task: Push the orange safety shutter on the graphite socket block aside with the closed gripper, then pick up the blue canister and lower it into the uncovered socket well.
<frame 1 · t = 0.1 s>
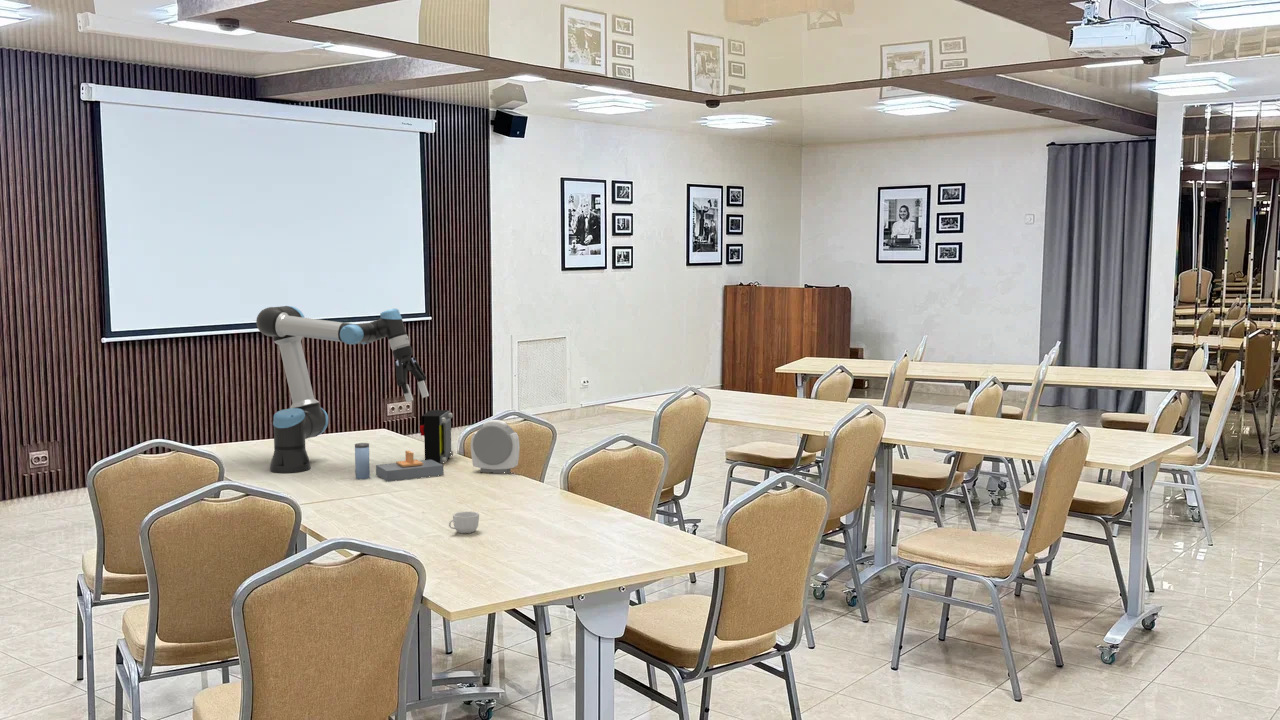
hand: (418, 399, 411), 28 cm above the table, tool tilted 20°, fingers open, 13 cm apart
alarm clock: (495, 472, 407), on the table
teacup: (463, 533, 315), on the table
socket block: (409, 475, 400), on the table
shutter: (409, 458, 400), point 7 cm above the table, slide at 0.0 cm
electrical component: (437, 461, 430), on the table
blue canister: (362, 478, 395), on the table
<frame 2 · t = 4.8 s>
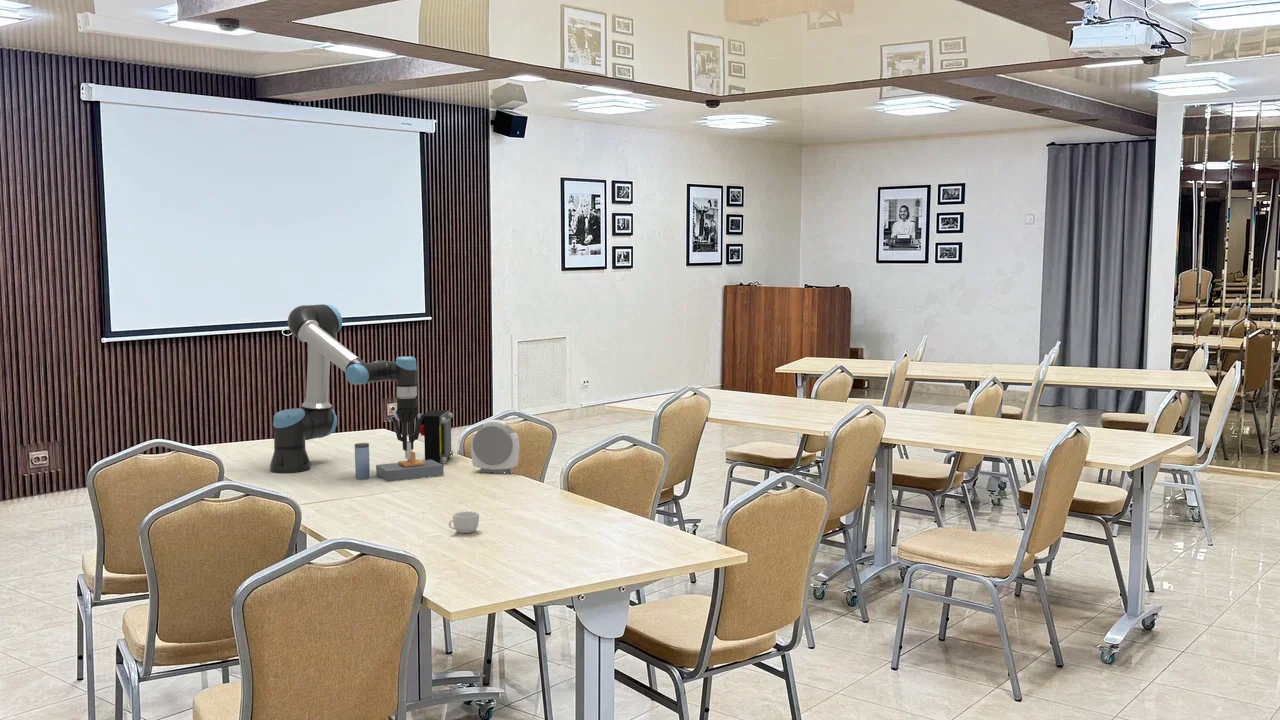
hand: (408, 458, 399), 7 cm above the table, tool pointing down, fingers closed
shutter: (411, 457, 400), point 7 cm above the table, slide at 0.8 cm, touching gripper
everything else where it was.
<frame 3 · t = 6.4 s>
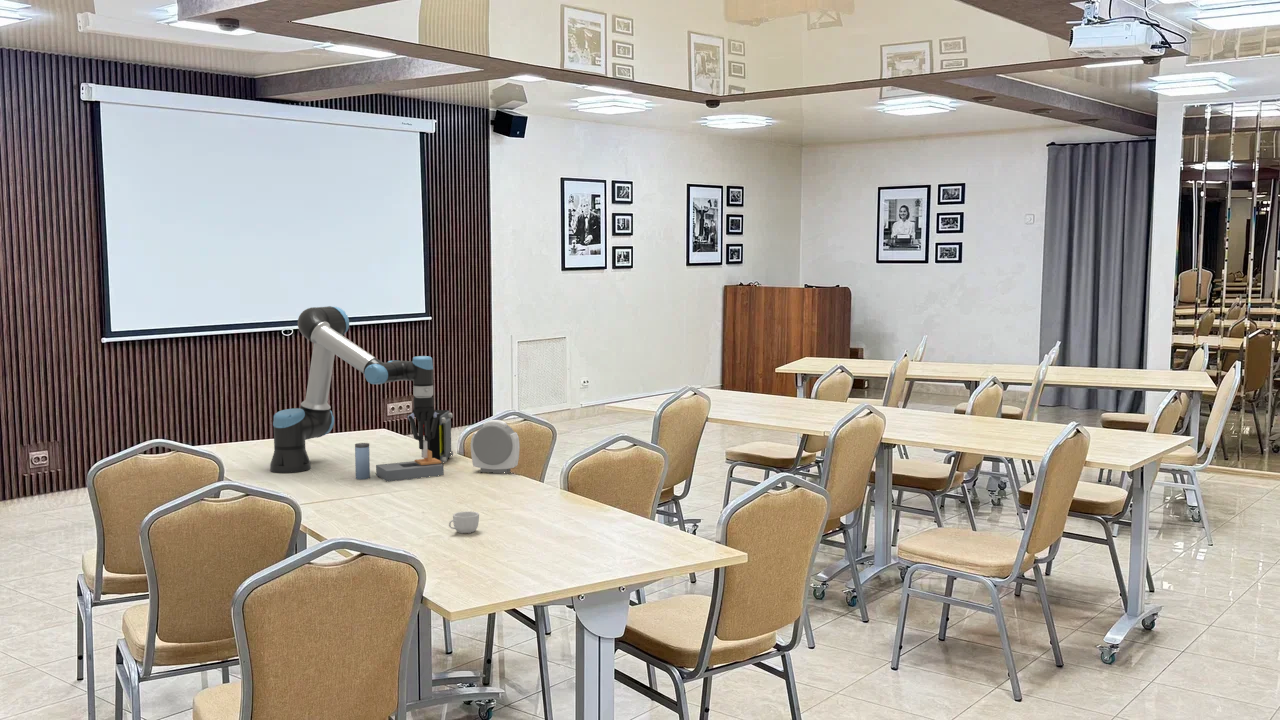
hand: (424, 457, 403), 6 cm above the table, tool pointing down, fingers closed
shutter: (427, 456, 403), point 7 cm above the table, slide at 7.3 cm, touching gripper
everything else where it was.
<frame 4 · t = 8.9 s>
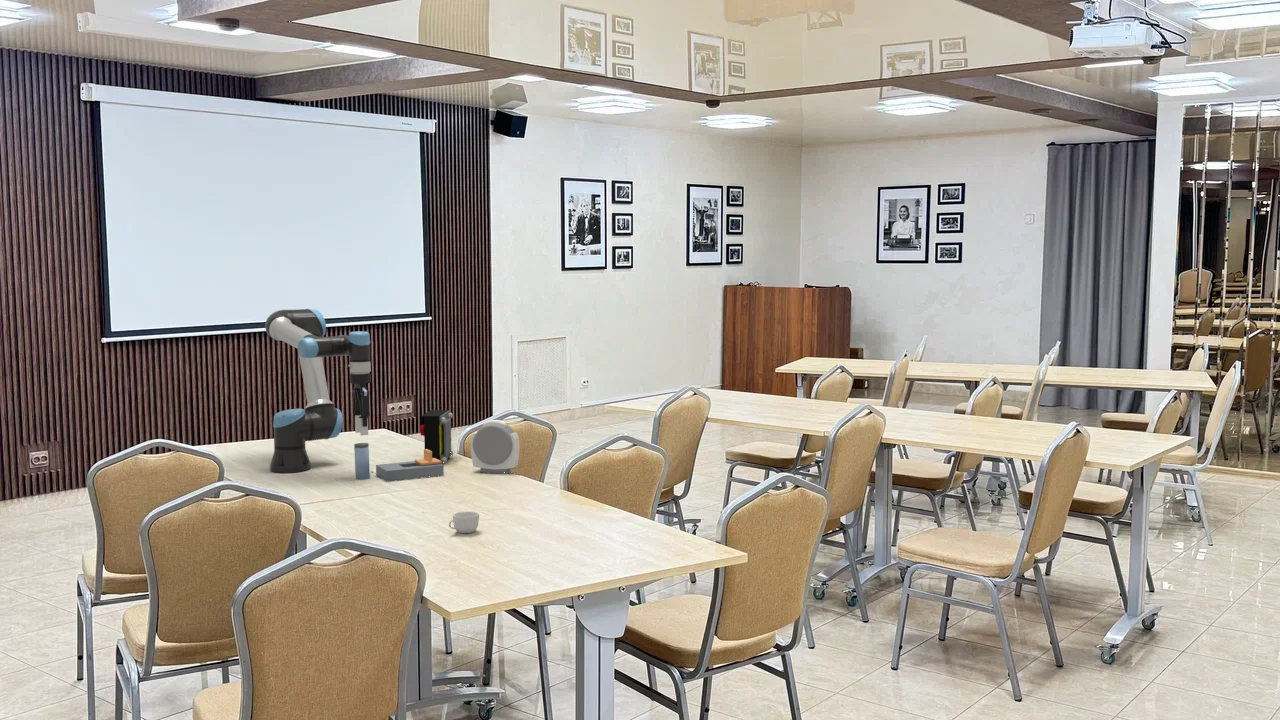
hand: (361, 433, 394), 17 cm above the table, tool pointing down, fingers open, 7 cm apart
shutter: (427, 456, 403), point 7 cm above the table, slide at 7.3 cm
everything else where it was.
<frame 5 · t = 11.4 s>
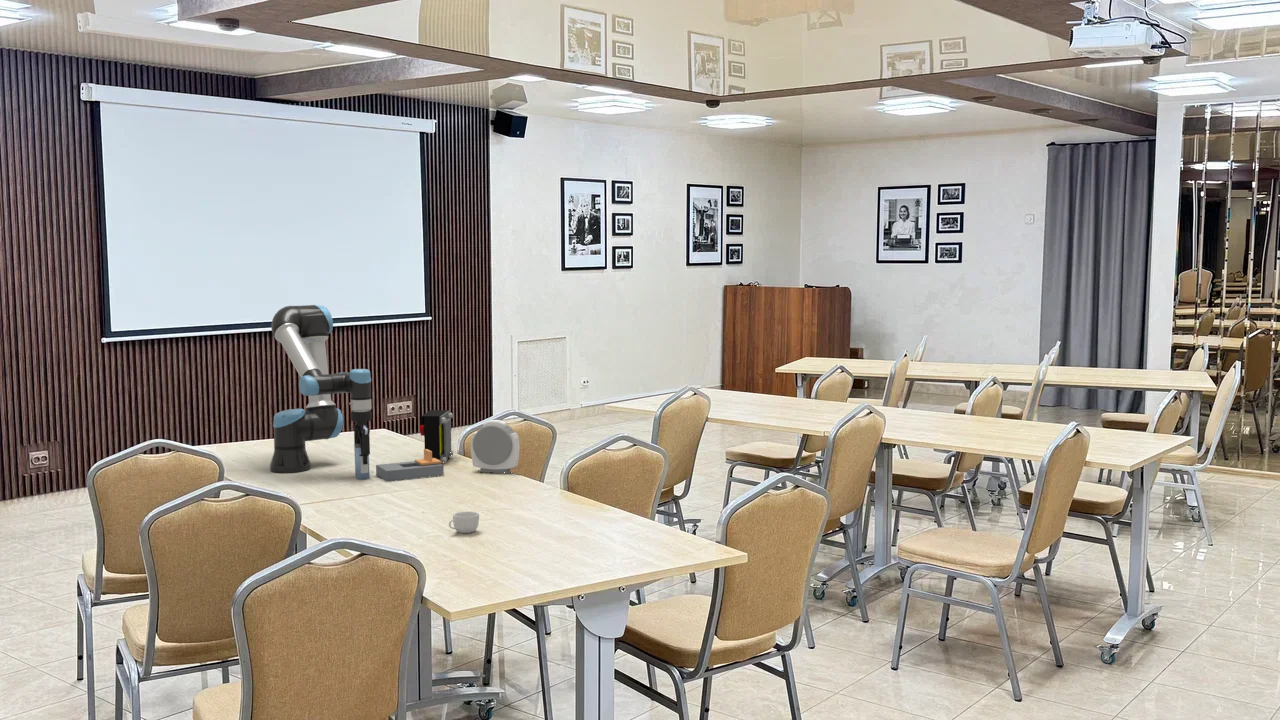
hand: (362, 471, 395), 3 cm above the table, tool pointing down, fingers closed on blue canister, 5 cm apart
blue canister: (362, 478, 395), on the table, touching gripper
everything else where it was.
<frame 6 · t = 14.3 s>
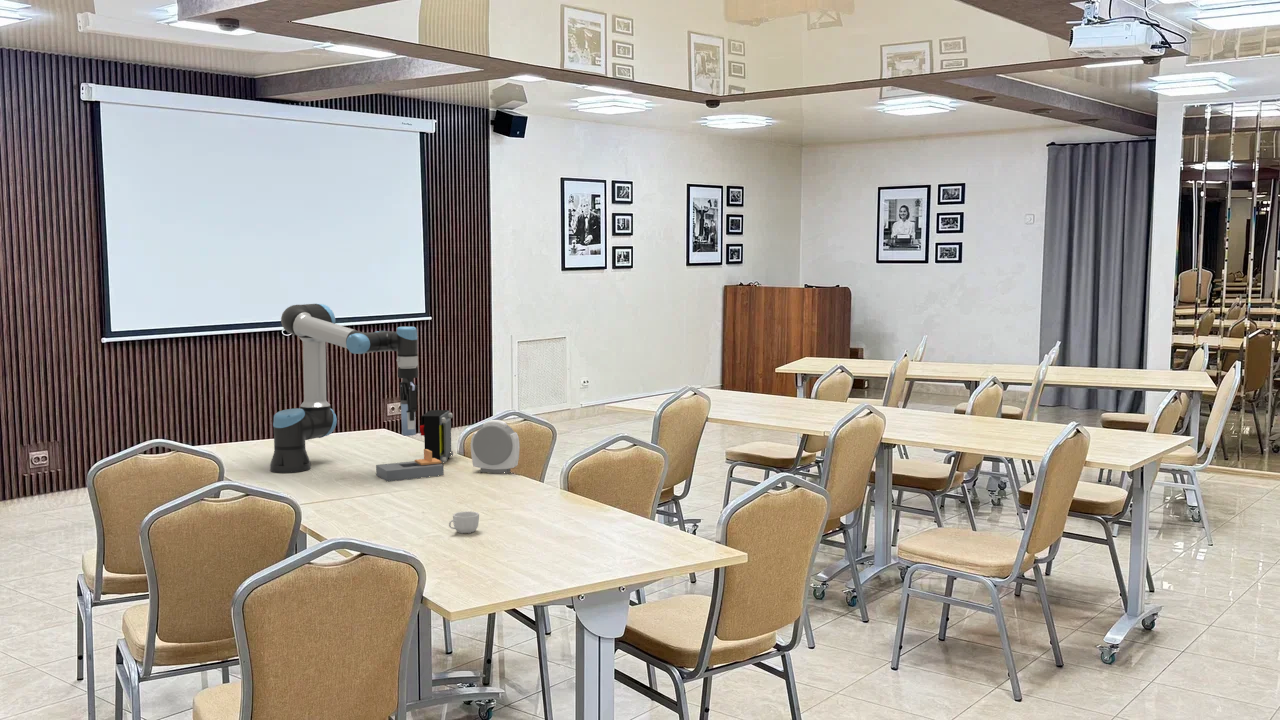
hand: (408, 427, 399), 18 cm above the table, tool pointing down, fingers closed on blue canister, 5 cm apart
blue canister: (409, 434, 399), point 16 cm above the table, touching gripper
everything else where it was.
when the fingers open (5 cm above the table, at t = 17.5 s): blue canister drops 1 cm, resting on socket block.
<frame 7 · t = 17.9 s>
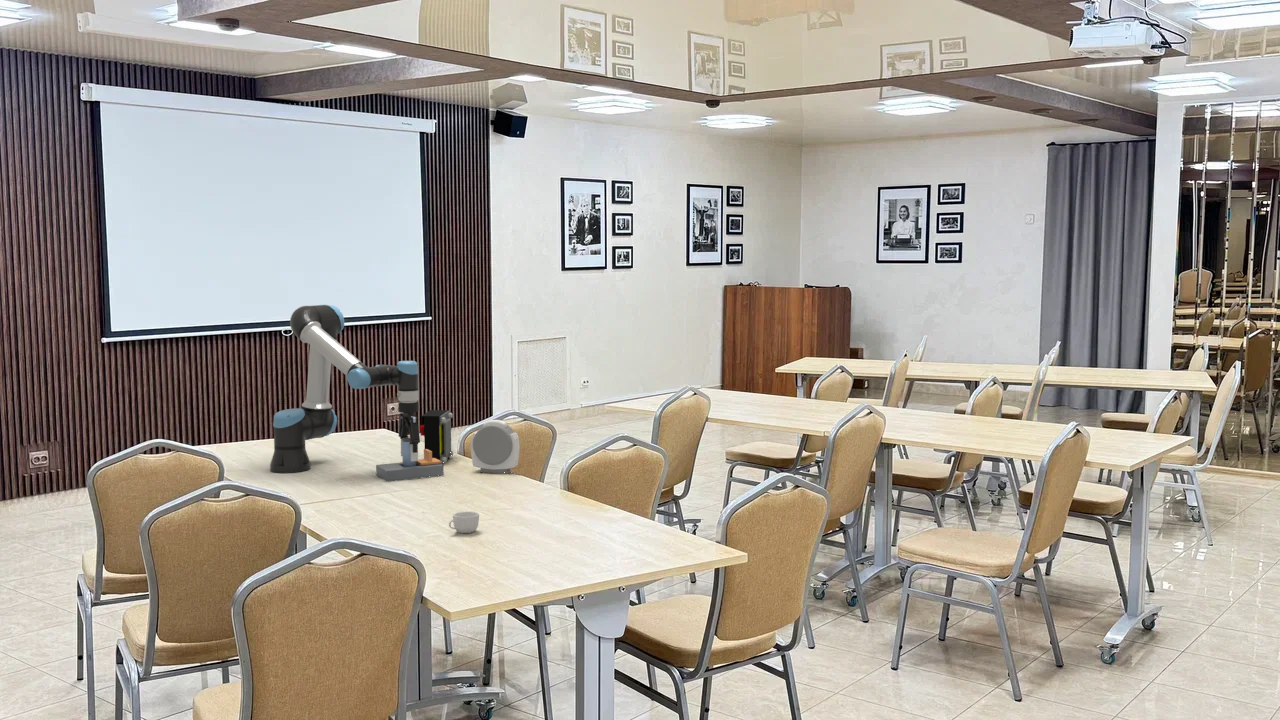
hand: (409, 458, 400), 7 cm above the table, tool pointing down, fingers open, 11 cm apart
blue canister: (409, 471, 400), point 1 cm above the table, touching socket block
everything else where it was.
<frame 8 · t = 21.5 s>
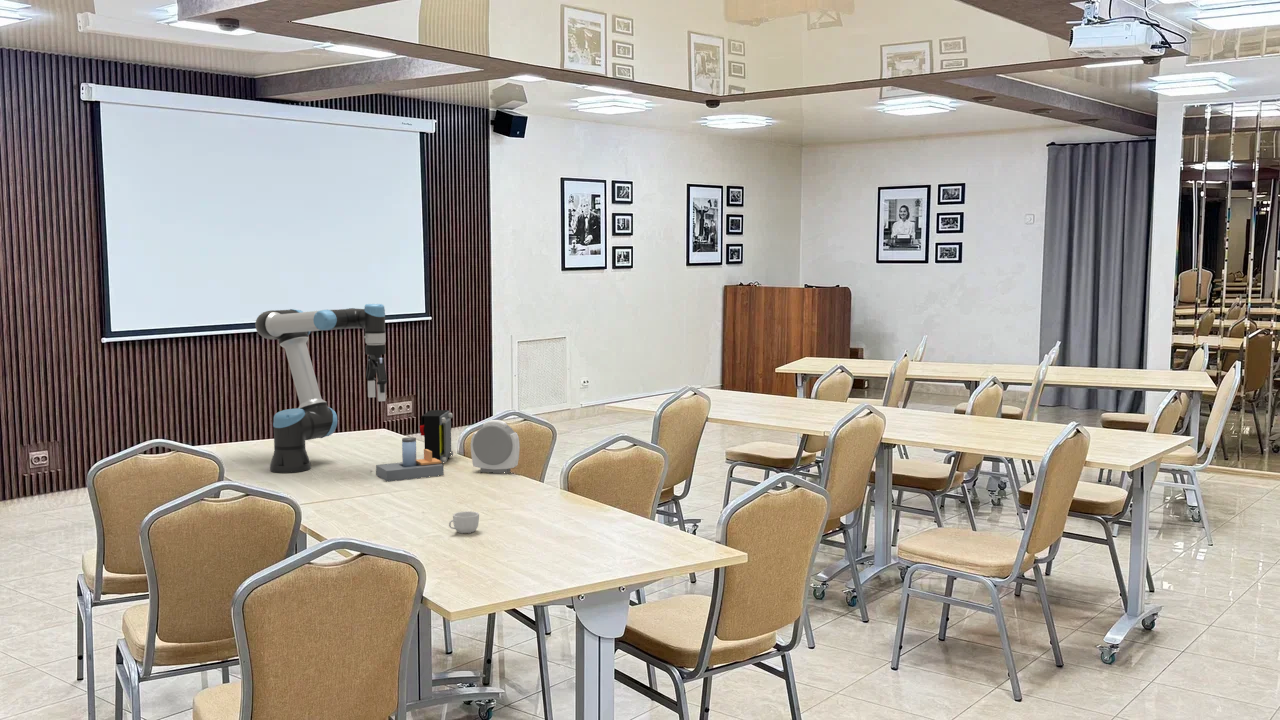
hand: (376, 399, 403), 29 cm above the table, tool pointing down, fingers open, 13 cm apart
nothing on the table moved.
at the end: blue canister 0.1 cm off-centre on the socket block, point 1.3 cm above the socket block's base; blue canister tilted 0°; shutter slide at 7.3 cm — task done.
